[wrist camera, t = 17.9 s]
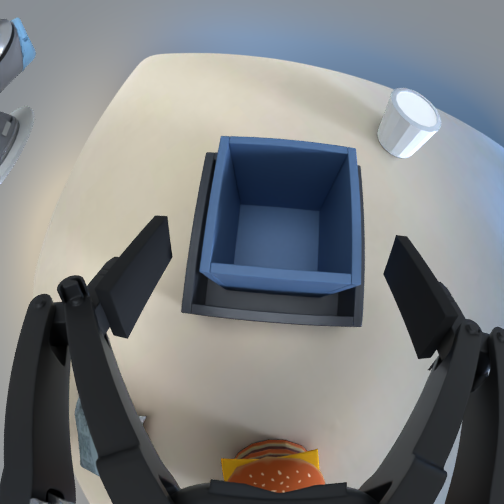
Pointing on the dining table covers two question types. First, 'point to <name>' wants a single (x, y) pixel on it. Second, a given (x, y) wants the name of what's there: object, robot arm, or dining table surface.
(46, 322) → the robot arm
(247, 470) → the hamburger
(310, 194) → the blue bin
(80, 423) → the packaged food
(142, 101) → the dining table surface
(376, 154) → the dining table surface
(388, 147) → the white cup
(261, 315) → the charcoal bin
